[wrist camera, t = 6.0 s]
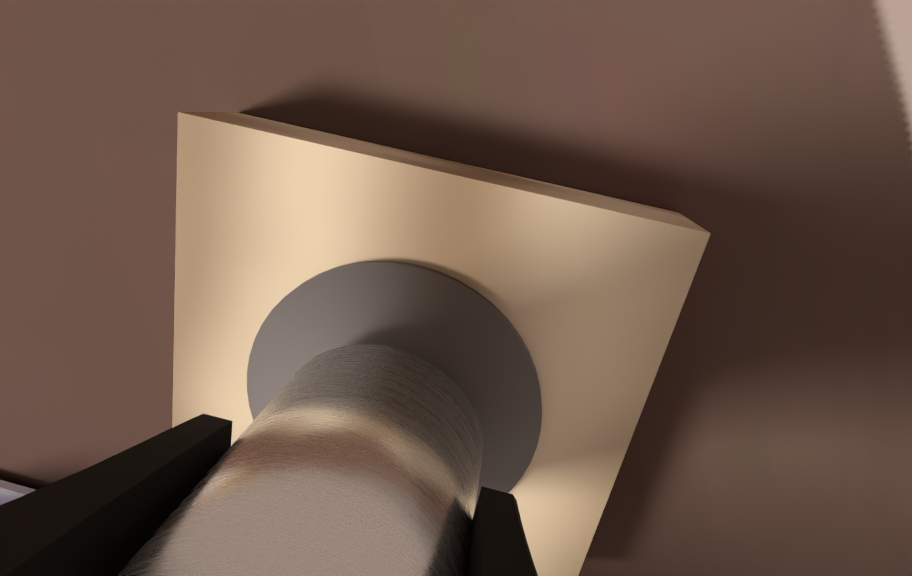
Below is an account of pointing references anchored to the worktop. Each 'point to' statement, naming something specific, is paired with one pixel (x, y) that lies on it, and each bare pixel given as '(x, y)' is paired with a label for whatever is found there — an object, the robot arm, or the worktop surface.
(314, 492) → the cylinder
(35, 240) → the worktop surface
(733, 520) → the worktop surface
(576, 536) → the stand
